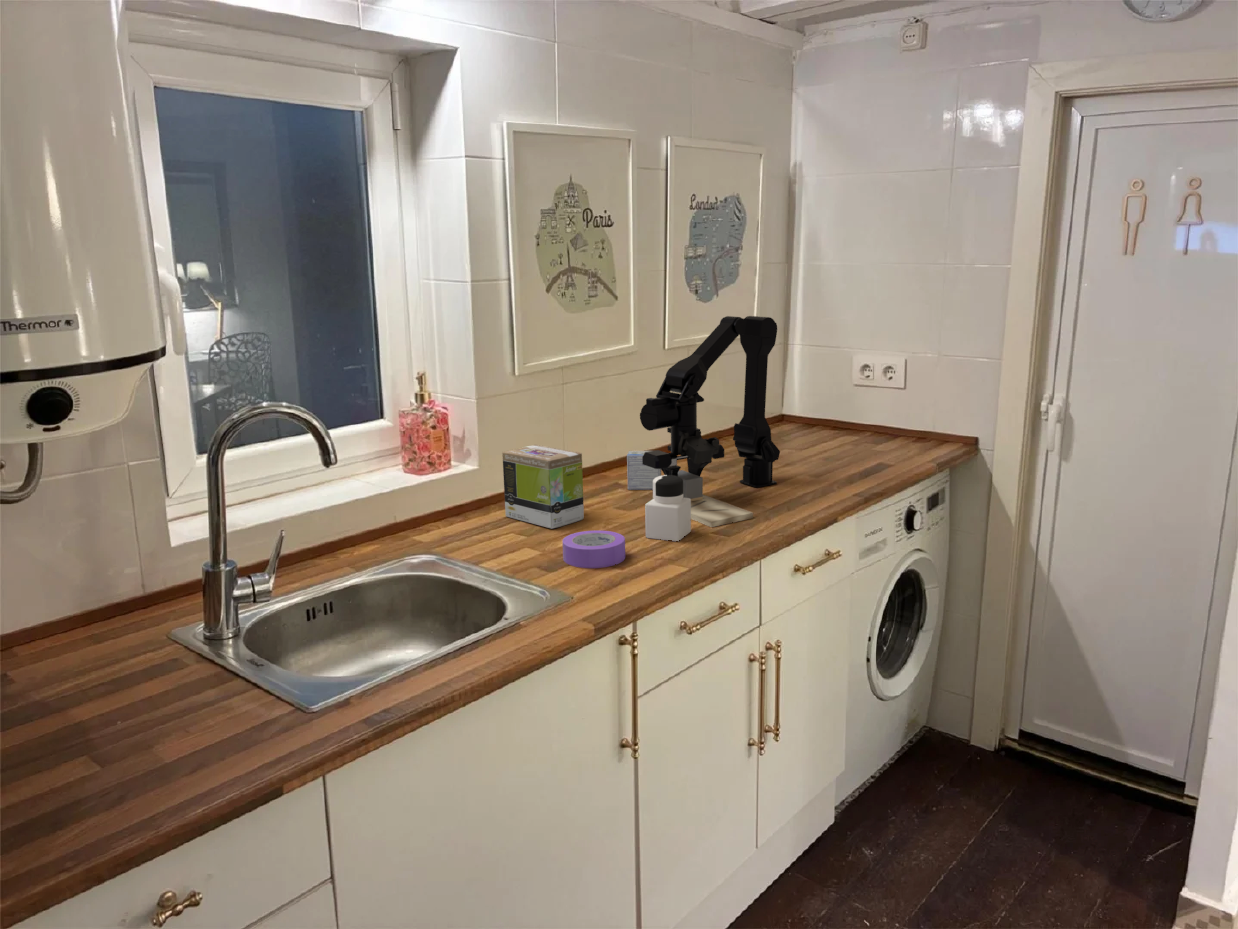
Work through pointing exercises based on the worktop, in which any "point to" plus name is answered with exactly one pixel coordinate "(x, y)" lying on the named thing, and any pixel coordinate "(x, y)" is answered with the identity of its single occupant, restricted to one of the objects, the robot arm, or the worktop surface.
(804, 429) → the worktop surface
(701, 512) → the board
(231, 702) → the worktop surface
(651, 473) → the medicine box
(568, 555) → the masking tape
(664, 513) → the medicine bottle
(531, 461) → the tea box
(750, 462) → the robot arm
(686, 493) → the block
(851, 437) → the worktop surface
